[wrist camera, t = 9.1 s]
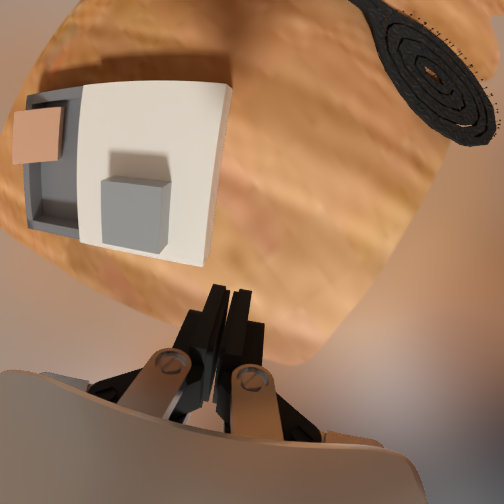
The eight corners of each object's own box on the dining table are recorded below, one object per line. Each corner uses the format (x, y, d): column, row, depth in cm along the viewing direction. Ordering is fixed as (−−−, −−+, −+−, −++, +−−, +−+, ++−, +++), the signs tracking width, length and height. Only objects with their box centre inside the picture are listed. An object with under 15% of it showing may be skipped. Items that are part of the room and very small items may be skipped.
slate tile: (114, 175, 20) (100, 180, 18) (171, 181, 20) (161, 187, 18) (114, 233, 22) (102, 243, 20) (167, 243, 22) (159, 254, 20)
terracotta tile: (61, 106, 18) (65, 107, 19) (14, 112, 16) (21, 111, 17) (57, 160, 20) (61, 157, 22) (12, 164, 18) (18, 161, 19)
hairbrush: (299, -81, 9) (516, 113, 13) (299, -61, 13) (493, 113, 17) (234, -39, 12) (474, 170, 16) (242, -19, 16) (452, 164, 20)
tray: (43, 95, 19) (27, 95, 17) (99, 87, 19) (84, 85, 17) (42, 220, 25) (28, 228, 23) (94, 230, 25) (80, 239, 23)
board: (102, 87, 19) (83, 85, 17) (232, 89, 19) (226, 84, 17) (96, 230, 25) (79, 242, 22) (210, 251, 25) (202, 267, 22)
